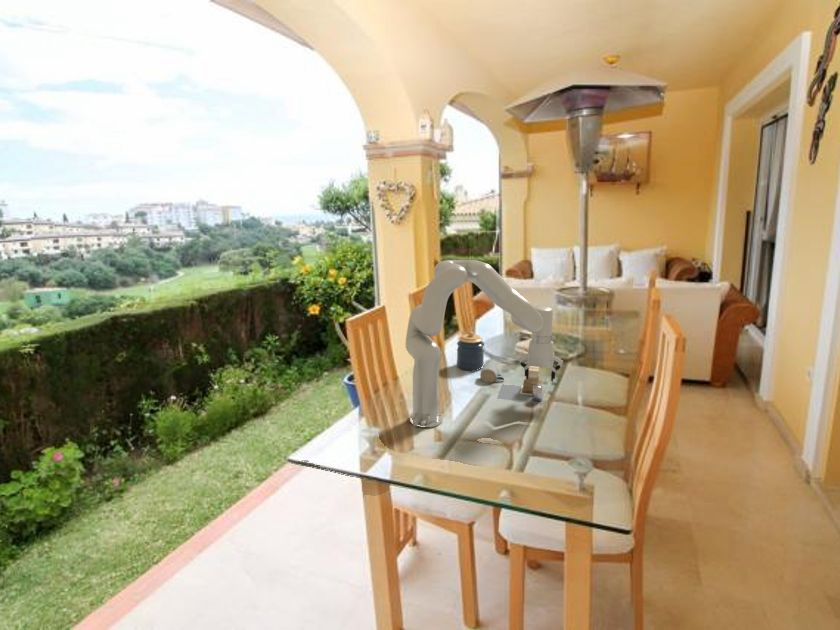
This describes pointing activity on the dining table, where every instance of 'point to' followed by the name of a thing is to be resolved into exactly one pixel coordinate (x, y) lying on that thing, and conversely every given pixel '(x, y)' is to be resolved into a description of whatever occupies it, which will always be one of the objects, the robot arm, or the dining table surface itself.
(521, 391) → the slate board
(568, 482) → the dining table surface
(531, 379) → the beech block
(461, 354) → the canister
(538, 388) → the grey block
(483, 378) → the ceramic mug
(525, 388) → the walnut block
